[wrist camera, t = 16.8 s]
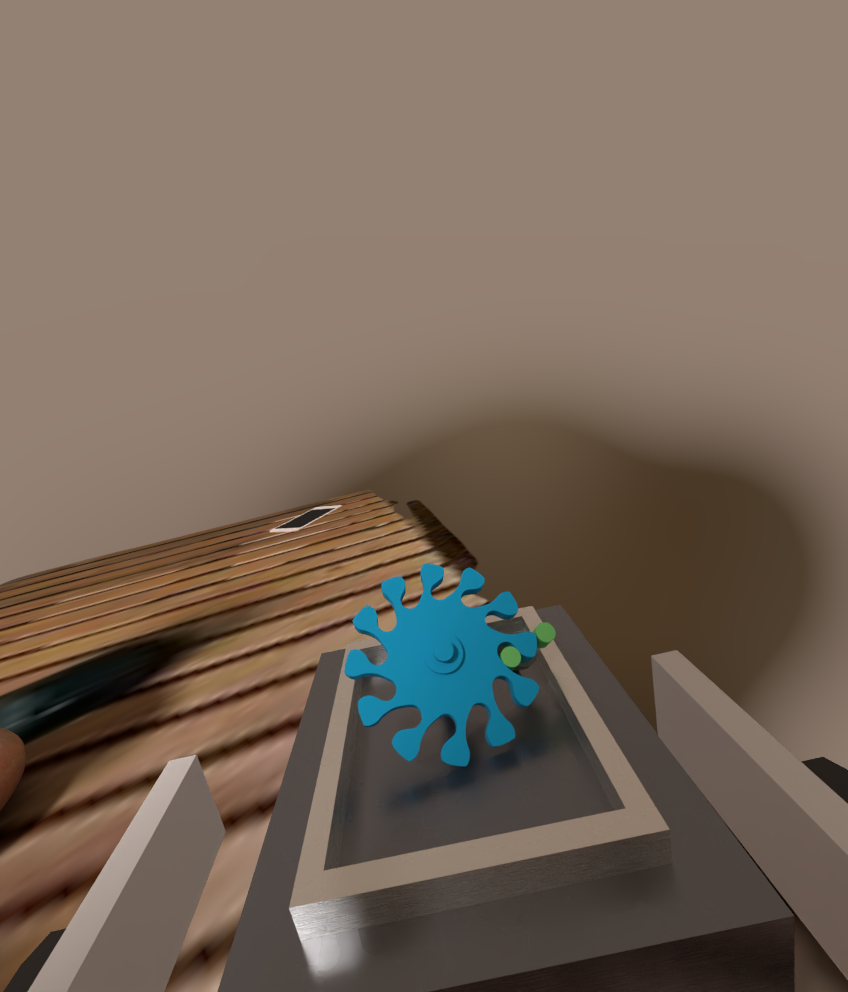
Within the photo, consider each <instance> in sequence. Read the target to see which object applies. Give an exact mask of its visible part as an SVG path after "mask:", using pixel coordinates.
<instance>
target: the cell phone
mask: <svg viewBox="0 0 848 992" xmlns="http://www.w3.org/2000/svg"><path fill="white" fill-rule="evenodd" d="M340 507H342V505H339V506H326V507H316V508H314V509H312V510H310V511H308V512H306V513H304V514H302V515H300V516H298V517H296V518H294V519H292V520H290V521H288V522H286V523H284V524H282V525H280V526H278V527H277V528H275V529H273V530H271V531H270V532H289V531H299V530H301V529H303V528H304V527H306V526H308V525H310V524H312V523H313V522H315V521H317V520H319V519H320V518H322V517H324V516H326V515H328V514H329V513H331V512H333V511H335V510H337V509H338V508H340Z"/></svg>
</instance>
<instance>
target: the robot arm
mask: <svg viewBox="0 0 848 992" xmlns="http://www.w3.org/2000/svg"><path fill="white" fill-rule="evenodd" d="M651 662H652V673H653V685H654V697H655V708H656V719H657V732H658V736H659V738H660V739H661V740H662V742H663V743H664V744H665V746H666V747H667V748H668V749H669V751H670V752H671V753H672V755H673V756H674V757H675V758H676V760H677V761H678V762H679V764H680V765H681V766H682V767H683V769H684V770H685V771H686V773H687V774H688V775H689V776H690V778H691V779H692V780H693V782H694V783H695V784H696V785H697V787H698V788H699V789H700V791H701V792H702V793H703V794H704V796H705V797H706V798H707V800H708V801H709V802H710V804H711V805H712V806H713V807H714V809H715V810H716V811H717V813H718V814H719V815H720V816H721V818H722V819H723V820H724V822H725V823H726V824H727V825H728V827H729V828H730V829H731V831H732V832H733V833H734V834H735V836H736V837H737V838H738V840H739V841H740V842H741V843H742V845H743V846H744V847H745V849H746V850H747V851H748V852H749V854H750V855H751V856H752V858H753V859H754V860H755V862H756V863H757V864H758V865H759V867H760V868H761V869H762V871H763V872H764V873H765V874H766V876H767V877H768V878H769V880H770V881H771V882H772V883H773V885H774V886H775V887H776V889H777V890H778V891H779V892H780V894H781V895H782V896H783V898H784V899H785V900H786V901H787V903H788V904H789V905H790V907H791V908H792V909H793V910H794V912H795V913H796V914H797V916H798V917H799V918H800V920H801V921H802V922H803V923H804V925H805V926H806V927H807V929H808V930H809V931H810V932H811V934H812V935H813V936H814V938H815V939H816V940H817V941H818V943H819V944H820V945H821V947H822V948H823V949H824V950H825V952H826V953H827V954H828V956H829V957H830V958H831V959H832V961H833V962H834V963H835V965H836V966H837V967H838V968H839V970H840V971H841V972H842V974H843V975H844V976H845V978H846V979H847V980H848V770H847V769H845V768H843V767H841V766H839V765H837V764H835V763H834V762H832V761H830V760H828V759H826V758H824V757H820V758H816V759H811V760H807V761H802V762H801V761H800V760H798V759H797V758H796V757H795V756H794V755H793V754H792V753H791V752H790V751H788V750H787V749H786V748H785V747H784V746H783V745H782V744H780V743H779V742H778V741H777V740H776V739H775V738H774V737H773V736H772V735H771V734H770V733H768V732H767V731H766V730H765V729H764V728H763V727H762V726H761V725H760V724H758V723H757V722H756V721H755V720H754V719H753V718H751V716H750V715H748V714H747V713H746V712H745V711H744V710H743V709H742V708H741V707H739V706H738V705H737V704H736V703H735V702H734V701H733V700H732V699H731V698H730V697H728V696H727V695H726V694H725V693H724V692H723V691H722V690H721V689H720V688H718V687H717V686H716V685H715V684H714V683H713V682H712V681H711V680H710V679H708V678H707V677H706V676H705V675H704V674H702V672H701V671H700V670H698V669H697V668H696V667H695V666H694V665H693V664H692V663H691V662H690V661H688V660H687V659H686V658H685V657H684V656H683V655H682V654H681V653H680V652H678V651H677V650H675V651H670V652H666V653H661V654H657V655H652V656H651ZM225 832H226V831H225V829H224V826H223V823H222V821H221V818H220V815H219V813H218V810H217V808H216V805H215V802H214V800H213V797H212V794H211V792H210V789H209V787H208V784H207V781H206V779H205V776H204V774H203V771H202V768H201V766H200V763H199V760H198V758H197V755H193V756H189V757H184V758H179V759H175V760H170V761H169V762H168V764H167V765H166V767H165V768H164V770H163V772H162V773H161V775H160V777H159V778H158V780H157V781H156V783H155V785H154V786H153V788H152V790H151V791H150V793H149V795H148V796H147V798H146V799H145V801H144V803H143V804H142V806H141V808H140V809H139V811H138V812H137V814H136V816H135V817H134V819H133V821H132V822H131V824H130V826H129V827H128V829H127V830H126V832H125V834H124V835H123V837H122V839H121V840H120V842H119V843H118V845H117V847H116V848H115V850H114V852H113V853H112V855H111V857H110V858H109V860H108V861H107V863H106V865H105V866H104V868H103V870H102V871H101V873H100V874H99V876H98V878H97V879H96V881H95V883H94V884H93V886H92V887H91V889H90V891H89V892H88V894H87V896H86V897H85V899H84V901H83V902H82V904H81V905H80V907H79V909H78V910H77V912H76V914H75V915H74V917H73V918H72V920H71V922H70V923H69V925H68V927H67V928H66V929H62V930H58V931H54V932H51V933H50V934H49V935H48V936H47V937H46V938H45V939H44V940H43V941H42V942H41V944H40V945H39V946H38V947H37V948H36V949H35V950H34V951H33V952H32V954H31V955H30V956H29V957H28V958H27V959H26V960H25V961H24V962H23V963H22V965H21V966H20V967H19V969H18V970H17V972H16V973H15V975H14V976H13V978H12V980H11V981H10V983H9V984H8V986H7V987H6V989H5V990H4V992H164V991H165V988H166V985H167V983H168V980H169V978H170V975H171V972H172V970H173V967H174V965H175V962H176V959H177V957H178V954H179V952H180V949H181V946H182V944H183V941H184V939H185V936H186V933H187V931H188V928H189V926H190V923H191V920H192V918H193V915H194V913H195V910H196V907H197V905H198V902H199V900H200V897H201V894H202V892H203V889H204V887H205V884H206V881H207V879H208V876H209V874H210V871H211V868H212V866H213V863H214V861H215V858H216V855H217V853H218V850H219V848H220V845H221V842H222V840H223V837H224V835H225Z"/></svg>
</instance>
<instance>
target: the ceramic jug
mask: <svg viewBox="0 0 848 992" xmlns="http://www.w3.org/2000/svg"><path fill="white" fill-rule="evenodd" d="M25 764H26V749H25V746H24V743H23V741H22V740H21V739H20V738H19V737H18V736H17V735H16V734H14V733H13V732H11V731H9V730H6V729H3V728H0V811H1V809H2V808H3V807H4V806H5V804H6V803H7V802H8V800H9V799H10V797H11V796H12V794H13V793H14V791H15V789H16V788H17V786H18V784H19V782H20V780H21V777H22V775H23V772H24V769H25Z"/></svg>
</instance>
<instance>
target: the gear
mask: <svg viewBox="0 0 848 992" xmlns="http://www.w3.org/2000/svg"><path fill="white" fill-rule="evenodd" d="M443 575H444V569H443V567H441V566H438V565H433V564H424V565H423V566H422V568H421V581H422V584H423V594H422V596H421V599H420V601H419V603H418V605H417V606H416V607H414V608H412V609H407V608H405V607H403V605H402V604H401V601H402V599H403V597H404V595H405V582H404V580H403V578H402V577H394V578H391V579H388V580H386V581H384V582H382V593H383V596H384V597H385V599H387V600H388V601H389V602H390V603H391V605H392V606H393V608H394V610H395V613H396V618H397V624H396V627H395V628H394V629H393V630H392V631H390V632H384V631H382V630H380V628H379V627H378V618H377V614H376V611H375V610H374V609H373V608H372V607H370V606H366V607H364V608H363V609H362V610H361V611H360V612H359V613H358V614H357V615H356V616H355V618H354V619H353V624H354V626H355V629H356V630H357V631H358V632H359V633H361V634H366V635H369V636H371V637H373V638H375V639H376V640H377V641H379V642H380V643H381V645H382V646H383V647H384V649H385V650H386V652H387V654H388V657H387V660H386V661H385V662H384V663H383V664H381V665H374V664H372V663H371V662H370V661H369V660H368V658H367V657H366V655H365V654H364V653H363V652H362V651H360V650H357V649H354V650H350V652H349V654H348V656H347V659H346V663H345V670H344V673H345V674H346V676H347V677H348V678H350V679H354V680H356V679H360V678H363V677H369V676H375V677H380V678H383V679H385V680H387V681H389V682H391V683H393V684H394V685H395V687H396V694H395V696H394V697H393V698H392V699H391V700H389V701H383V700H380V699H378V698H376V697H374V696H369V695H368V696H364V697H362V698H361V699H360V700H359V701H358V710H359V714H360V717H361V720H362V722H363V725H364V726H365V727H373V726H375V725H377V724H378V723H379V722H380V720H381V719H382V718H383V717H384V716H386V715H387V714H388V713H390V712H391V711H394V710H396V709H400V708H406V707H414V708H416V709H418V710H419V712H420V713H421V717H422V720H421V722H420V724H419V725H418V726H417V727H415V728H412V729H404V730H401V731H399V732H398V733H396V734H395V736H394V737H393V740H392V745H393V747H394V749H395V750H396V751H397V752H398V754H400V755H401V756H402V757H403V758H404V759H406V760H407V761H408V762H410V761H412V760H413V759H415V758H416V756H417V755H418V752H419V748H420V743H421V740H422V737H423V735H424V733H425V732H426V730H427V729H428V727H429V726H430V725H431V724H432V723H434V722H435V721H436V720H437V719H438V718H440V717H442V716H448V717H450V718H452V719H453V721H454V722H455V725H456V731H455V734H454V735H453V736H452V737H451V738H450V739H449V740H448V741H447V742H446V743H445V744H444V745H443V747H442V749H441V754H440V755H441V761H442V762H444V763H445V764H448V765H451V766H460V767H465V766H467V764H468V763H469V759H470V751H469V748H468V745H467V741H466V732H465V730H466V722H467V718H468V715H469V712H470V709H471V707H473V706H475V705H480V706H483V707H484V708H485V709H486V710H487V712H488V715H489V719H488V723H487V726H486V730H485V738H486V741H487V743H488V745H489V746H490V747H497V746H501V745H503V744H505V743H507V742H509V741H511V740H512V739H514V738H515V730H514V728H513V726H512V724H511V723H510V722H509V721H508V720H507V719H505V717H504V716H503V715H502V714H501V712H500V711H499V709H498V707H497V705H496V702H495V699H494V694H493V689H492V683H493V680H495V679H503V680H504V681H506V682H507V683H508V685H509V688H510V693H511V697H512V700H513V702H514V703H515V704H516V705H517V706H518V707H520V708H523V709H524V708H525V707H527V706H528V705H529V704H531V703H532V701H533V700H534V699H535V697H536V695H537V693H538V691H539V686H538V684H537V683H536V682H535V681H534V680H532V679H530V678H526V677H522V676H520V675H517V674H516V673H514V672H512V671H515V670H524V669H527V668H529V667H530V666H531V665H532V664H533V663H534V662H535V661H536V658H537V648H545V647H546V646H547V645H548V644H549V643H550V642H551V641H552V640H553V639H554V638H555V635H556V632H555V629H554V627H553V626H552V625H551V624H549V623H546V622H542V623H540V624H538V626H537V627H536V628H535V629H534V630H533V632H528V631H525V632H522V633H519V634H504V633H501V632H498V631H496V630H493V629H491V628H490V627H488V625H487V624H486V622H485V618H486V617H487V616H490V615H494V616H497V617H499V618H501V619H504V620H509V619H512V618H513V617H514V616H515V615H516V613H517V612H518V606H517V604H516V601H515V599H514V598H513V596H512V595H511V593H510V592H503V593H501V594H500V595H499V596H498V597H497V598H496V599H495V600H494V601H493V602H491V603H489V604H487V605H485V606H480V607H472V608H470V607H467V606H465V605H464V604H463V603H462V601H461V598H462V597H463V596H464V595H469V594H476V593H478V592H479V591H480V590H481V589H482V587H483V584H484V581H485V579H484V578H483V576H482V575H481V574H479V573H478V572H477V571H475V570H473V569H472V568H470V567H469V568H467V569H465V570H464V572H463V573H462V577H461V581H460V584H459V586H458V588H457V589H456V590H455V591H454V592H453V593H452V594H451V595H450V596H448V597H447V598H445V599H444V600H436V599H434V598H433V597H432V595H431V591H432V590H433V589H435V588H436V587H438V586H439V585H440V584H441V583H442V581H443Z"/></svg>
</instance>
